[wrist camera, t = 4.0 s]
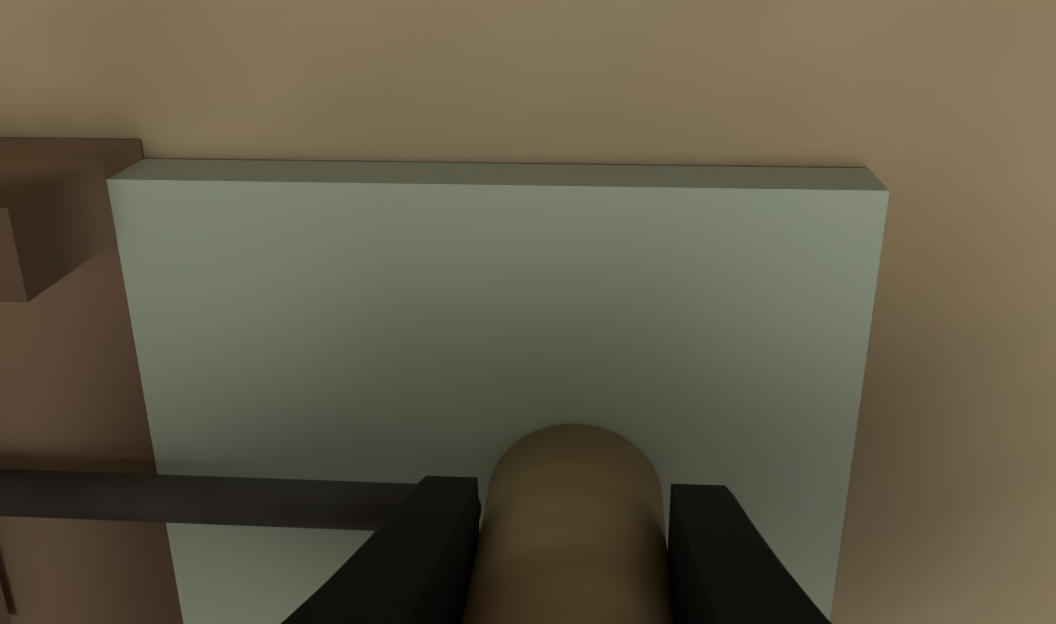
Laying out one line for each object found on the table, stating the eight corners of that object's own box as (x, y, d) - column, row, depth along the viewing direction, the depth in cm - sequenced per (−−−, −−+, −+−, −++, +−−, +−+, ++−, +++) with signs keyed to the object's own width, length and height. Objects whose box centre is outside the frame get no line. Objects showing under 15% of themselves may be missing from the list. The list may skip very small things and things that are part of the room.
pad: (868, 167, 12) (889, 190, 11) (801, 685, 15) (813, 736, 14) (143, 158, 13) (106, 179, 12) (221, 656, 16) (197, 703, 15)
